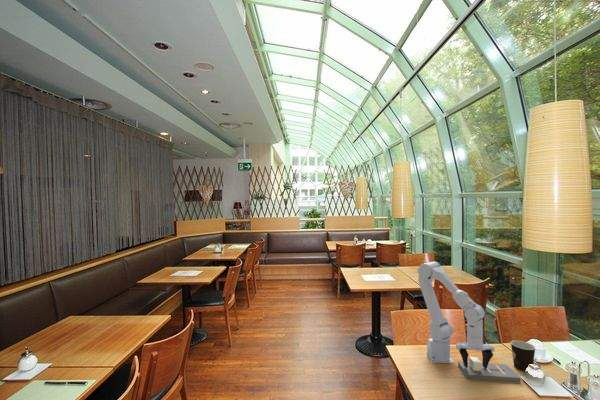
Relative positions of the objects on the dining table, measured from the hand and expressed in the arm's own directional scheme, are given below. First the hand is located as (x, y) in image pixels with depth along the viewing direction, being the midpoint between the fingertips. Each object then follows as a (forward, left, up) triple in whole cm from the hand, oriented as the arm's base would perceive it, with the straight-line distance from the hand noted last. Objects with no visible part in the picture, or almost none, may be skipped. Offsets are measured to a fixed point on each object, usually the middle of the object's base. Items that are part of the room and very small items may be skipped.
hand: (475, 367), depth 128 cm
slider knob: (0, 0, 0) cm, 0 cm away
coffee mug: (+23, +8, -3) cm, 25 cm away
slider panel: (+5, 0, -3) cm, 6 cm away
